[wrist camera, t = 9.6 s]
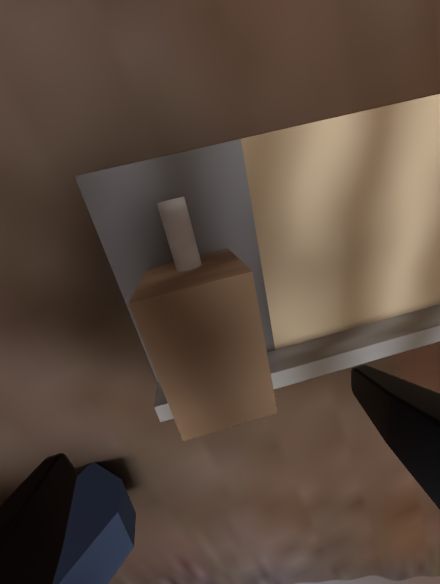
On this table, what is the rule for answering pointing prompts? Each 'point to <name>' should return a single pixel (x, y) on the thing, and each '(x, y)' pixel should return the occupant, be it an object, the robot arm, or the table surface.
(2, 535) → the robot arm
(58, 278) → the table surface
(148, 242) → the board
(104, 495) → the glue gun
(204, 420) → the brown block with peg
